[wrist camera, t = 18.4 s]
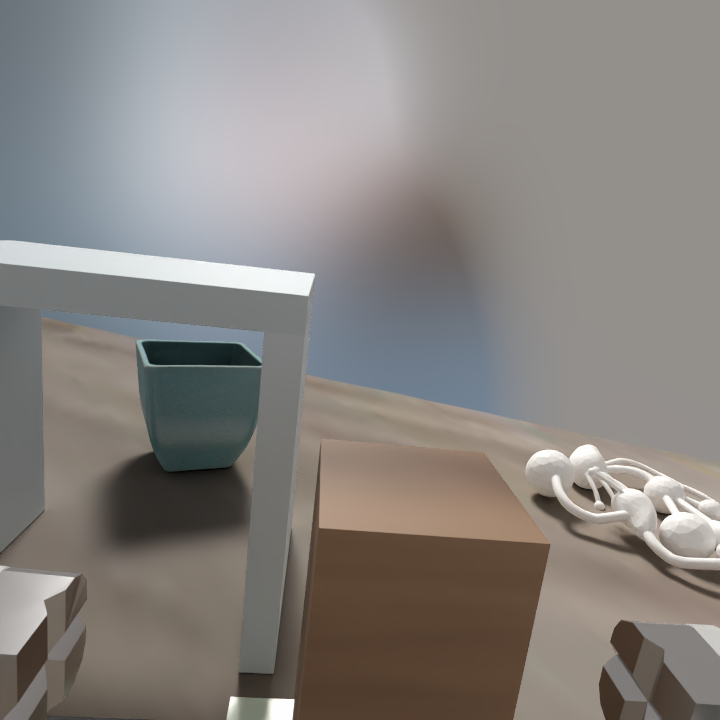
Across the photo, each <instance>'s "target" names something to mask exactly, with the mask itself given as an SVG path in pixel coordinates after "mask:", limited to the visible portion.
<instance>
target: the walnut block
mask: <svg viewBox="0 0 720 720" xmlns="http://www.w3.org/2000/svg"><path fill="white" fill-rule="evenodd" d="M549 549H550V543H549V541H548V540H547V538H546V537H545V536H544V534H543V533H542V532H541V530H540V529H539V528H538V526H537V525H536V523H535V522H534V521H533V519H532V518H531V517H530V515H529V514H528V512H527V511H526V510H525V508H524V507H523V506H522V504H521V503H520V502H519V500H518V499H517V497H516V496H515V495H514V493H513V492H512V491H511V489H510V488H509V487H508V485H507V484H506V482H505V481H504V480H503V478H502V477H501V476H500V474H499V473H498V471H497V470H496V469H495V467H494V466H493V465H492V463H491V462H490V461H489V459H488V458H487V456H486V455H485V454H484V452H473V451H461V450H449V449H437V448H425V447H413V446H401V445H389V444H377V443H365V442H353V441H341V440H329V439H321V445H320V455H319V465H318V474H317V484H316V494H315V503H314V513H313V523H312V532H311V542H310V552H309V562H308V571H307V581H306V591H305V600H304V610H303V620H302V629H301V639H300V649H299V658H298V668H297V678H296V687H295V697H294V707H293V716H292V720H513V717H514V713H515V708H516V703H517V699H518V694H519V689H520V685H521V680H522V675H523V671H524V666H525V661H526V656H527V652H528V647H529V642H530V638H531V633H532V628H533V624H534V619H535V614H536V610H537V605H538V600H539V596H540V591H541V586H542V581H543V577H544V572H545V567H546V563H547V558H548V553H549Z"/></svg>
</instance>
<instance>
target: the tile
mask: <svg viewBox="0 0 720 720" xmlns="http://www.w3.org/2000/svg"><path fill="white" fill-rule="evenodd" d="M293 707H294V699H271V698H247V697H231V699H230V704H229V709H228V714H227V718H226V720H292V716H293Z"/></svg>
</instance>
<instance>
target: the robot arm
mask: <svg viewBox="0 0 720 720" xmlns="http://www.w3.org/2000/svg"><path fill="white" fill-rule="evenodd" d="M86 600H87V587H86V579H85V577H84V576H83V575H82V574H76V573H67V572H57V571H48V570H39V569H29V568H20V567H7V566H0V720H47V712H48V711H49V710H51V709H52V708H54V707H55V706H56V705H58V704H59V703H61V702H62V701H64V699H65V698H66V696H67V694H68V692H69V690H70V688H71V687H72V685H73V683H74V681H75V678H76V675H77V672H78V669H79V667H80V664H81V661H82V657H83V652H84V646H85V639H86V626H85V624H84V623H83V622H82V620H81V619H80V618H79V616H78V615H77V614H78V612H79V611H80V609H81V608H82V606H83V605H84V603H85V602H86ZM610 642H611V645H612V647H613V649H614V651H615V653H616V655H615V656H614V657H613V658H611V659H610V660H609V661H608V662H607V663H606V664H605V665H604V666H603V669H602V673H601V678H600V682H599V691H600V702H601V707H602V710H603V713H604V716H605V719H606V720H720V629H719V628H717V627H715V626H713V625H698V624H681V625H677V624H665V623H652V622H640V621H627V620H621V621H620V622H619V623H618V624H617V625H616V627H615V628H614V631H613V634H612V637H611V641H610Z"/></svg>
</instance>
